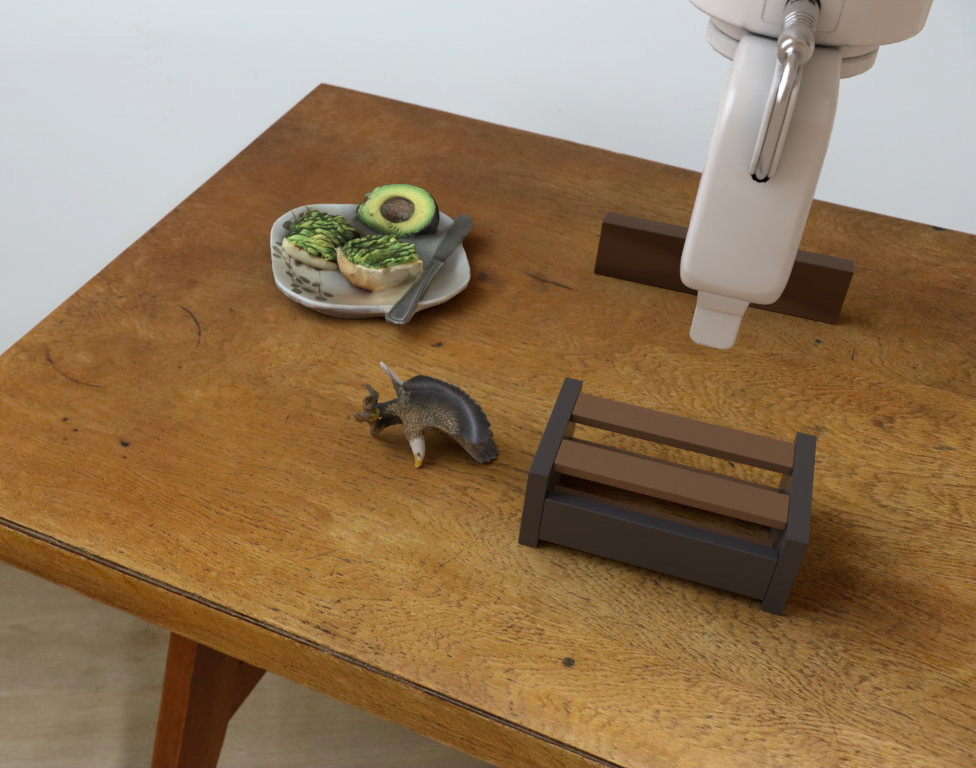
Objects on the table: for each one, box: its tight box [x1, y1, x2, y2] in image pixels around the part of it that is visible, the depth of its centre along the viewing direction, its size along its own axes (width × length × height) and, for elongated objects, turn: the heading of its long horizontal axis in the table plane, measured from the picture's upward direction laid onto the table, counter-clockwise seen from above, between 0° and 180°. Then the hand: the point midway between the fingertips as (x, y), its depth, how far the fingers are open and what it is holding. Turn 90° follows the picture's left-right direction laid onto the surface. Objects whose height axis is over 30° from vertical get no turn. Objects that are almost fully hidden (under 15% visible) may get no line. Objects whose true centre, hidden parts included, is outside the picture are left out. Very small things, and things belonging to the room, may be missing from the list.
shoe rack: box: [517, 376, 818, 616], centre depth 69 cm, size 10×16×6 cm, turn 71°
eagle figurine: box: [352, 361, 500, 469], centre depth 74 cm, size 8×7×9 cm
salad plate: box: [268, 183, 474, 327], centre depth 91 cm, size 19×18×5 cm
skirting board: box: [593, 211, 855, 325], centre depth 92 cm, size 2×20×5 cm, turn 71°
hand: (724, 281), depth 49 cm, fingers open, 8 cm apart
